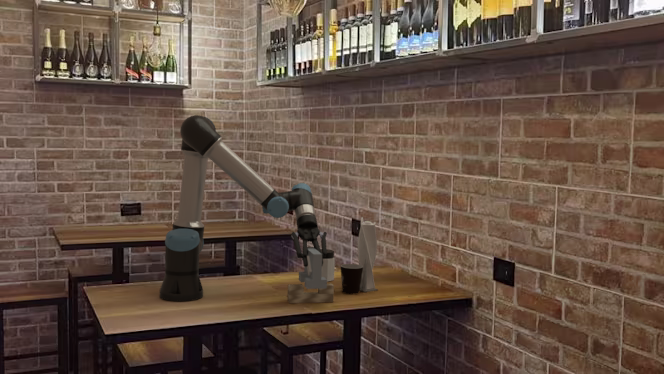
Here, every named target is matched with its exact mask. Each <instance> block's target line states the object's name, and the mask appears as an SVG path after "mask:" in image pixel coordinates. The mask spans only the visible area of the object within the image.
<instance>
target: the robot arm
mask: <svg viewBox="0 0 664 374" xmlns="http://www.w3.org/2000/svg"><path fill="white" fill-rule="evenodd" d="M179 134H180V137H181V145H180V146H181V147H180V151H181V153H182V154H183V155H184V159H183V168H182V176H181V177H182V178H181V186H180V195H179V203H178V212H177V214H178V215H177V219H176V220H175V221H173V222H172V229H171V230H170V231H167V232H166V234H165V240H164V244H165V253H164V254H165V257H164V258H165V261H164V268H165V269H164V277H163V280H162V283H161V286H160V289H159V298H160V299H162V300H165V301H169V302H170V301H171V302H189V301H195V300H198V299H199V300H200V299H201V298H203V296H204V289H203V284H202V281H201V278H200V275H199V274H200V272H199V267H200V263H199V262H200V254H201V252H202V250H203V248H204V245H205V242H204V241H205V240H204V232H205V224H204V223H203V222H202V215H203V205H204V198H205V197H204V195H205V187H206V178H207V169H208V161H209V160H210V161H212V162H213V163H214V164H215V165H216V166H217V167H218V168H219V169H220V170H222V171H223V172H224V174H226V175H227V176H228V177H229V178H230V179H231V180H232V181H234V182H235V183H236V184H237V185H238V186H239V187H240V188H241V189H243V190H244V191H245V192H246V193H247V194H248V195H249V196H250V197H251V198H253V200H255V201H256V202H257V203H259V205H260V206H261V207H262V208H261V209H262V212H263V214H265V215H270V216H271V217H272V218H276V219H280V218H283V217H285V216H286V215H287V213H288V212H293V211H294V213H295V219H296V229H297V231H296V232H294V231H293V232H291V235H290V239H291V240H292V241H293V245H294V249H295V254H296V257H297V258H298V259H301V260H302V261H303V266H305V267H306V266H307V271H308V276H310V275H311V272H312V270H311V264H310V258H309V256H307V247H308V242H311V244H312V247H314V248H315V249H316V250H317V251H319V252H320V253H321V254H322V266H323V258H325V257H326V254H327V249H328V248H327V238H326V237H327V235H328V233H327V232H326V231H324V232H322V231H321V230H320V229H319V226H318V220H317V215H316V210H315V203H314V197H313V193H312V189H311V187H310V185H308V184H307V183H304V182H298V183H297V184H294V185H293V186H292V188H291V190H289V191H281V192H279V191H278V190H276V189H275V188H274V187H273V186H272V185H270V184H269V183H268V182H267V181H266V180H265V178H263V177H262V176H261V175H260V174H258V173H257V171H255V170H254V169H253V168H252V167H251V166H250V165H249V164H247V162H245V161H244V160H243V159H242V158H241V157H240V156H239V155H238V154H237V153H236V152H235V151H234V150H232V149H231V148H230V147H229V146H228V144H226V143H225V142H224V141H223V136H221V134H219V133H218V132H217V130H216V127H215V123H214V122H213V121H212V120H211V119H210V118H208V117H206V116H203V115H198V114H195V115H190V116H188V117H187V118H185V119H184V121H183V122H182V124H181V125H180V131H179ZM208 159H209V160H208ZM318 237H319V238H320V240H321V241H320V242H321V245H320V244H319V242H318ZM299 239H301V240H302V248H301V243H300V241H299ZM320 246H321V247H320ZM321 249H322V252H321Z"/></svg>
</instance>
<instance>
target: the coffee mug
mask: <svg viewBox="0 0 664 374" xmlns="http://www.w3.org/2000/svg"><path fill="white" fill-rule="evenodd" d="M362 271H363V266H362V265H359V264H356V263H355V264H354V263H343V264H341V265H340V275H341V277H340V278H341V288H342V289H341V290H342V293H343V294H346V295H357V294H359V293H360V291H359V290H360V284H361V277H362Z"/></svg>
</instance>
